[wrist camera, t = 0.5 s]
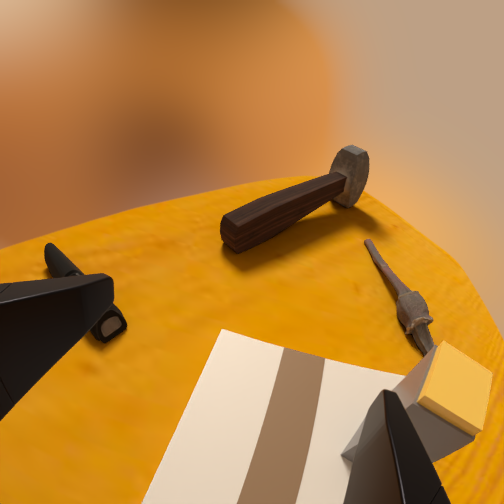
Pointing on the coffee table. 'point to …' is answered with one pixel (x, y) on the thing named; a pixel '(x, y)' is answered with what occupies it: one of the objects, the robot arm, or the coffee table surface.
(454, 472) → the coffee table surface
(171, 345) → the coffee table surface
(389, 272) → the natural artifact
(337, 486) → the board
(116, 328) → the electric trimmer
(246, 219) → the hammer
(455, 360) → the yellow-topped grey block
